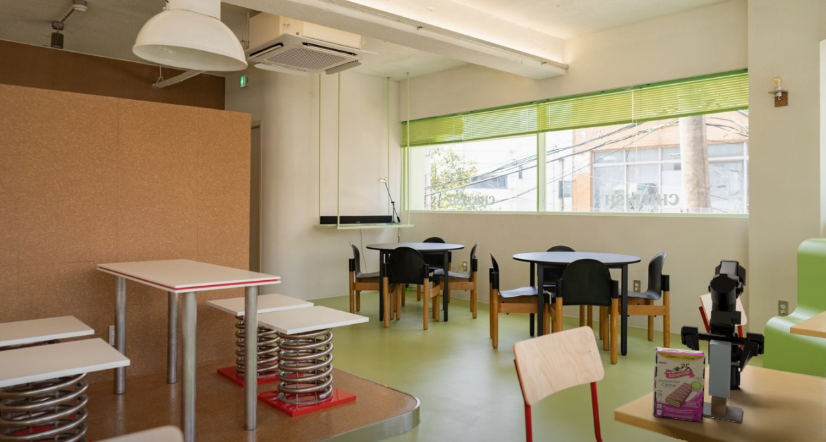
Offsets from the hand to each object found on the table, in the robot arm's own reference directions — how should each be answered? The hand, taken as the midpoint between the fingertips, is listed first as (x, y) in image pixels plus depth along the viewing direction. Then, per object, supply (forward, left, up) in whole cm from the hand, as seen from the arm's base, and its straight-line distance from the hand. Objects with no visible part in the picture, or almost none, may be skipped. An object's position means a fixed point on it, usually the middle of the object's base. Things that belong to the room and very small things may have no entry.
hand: (719, 368), depth 143 cm
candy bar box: (-10, -4, -12) cm, 16 cm away
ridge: (+1, +1, -12) cm, 12 cm away
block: (+1, +1, -7) cm, 7 cm away
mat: (+1, +1, -12) cm, 12 cm away
